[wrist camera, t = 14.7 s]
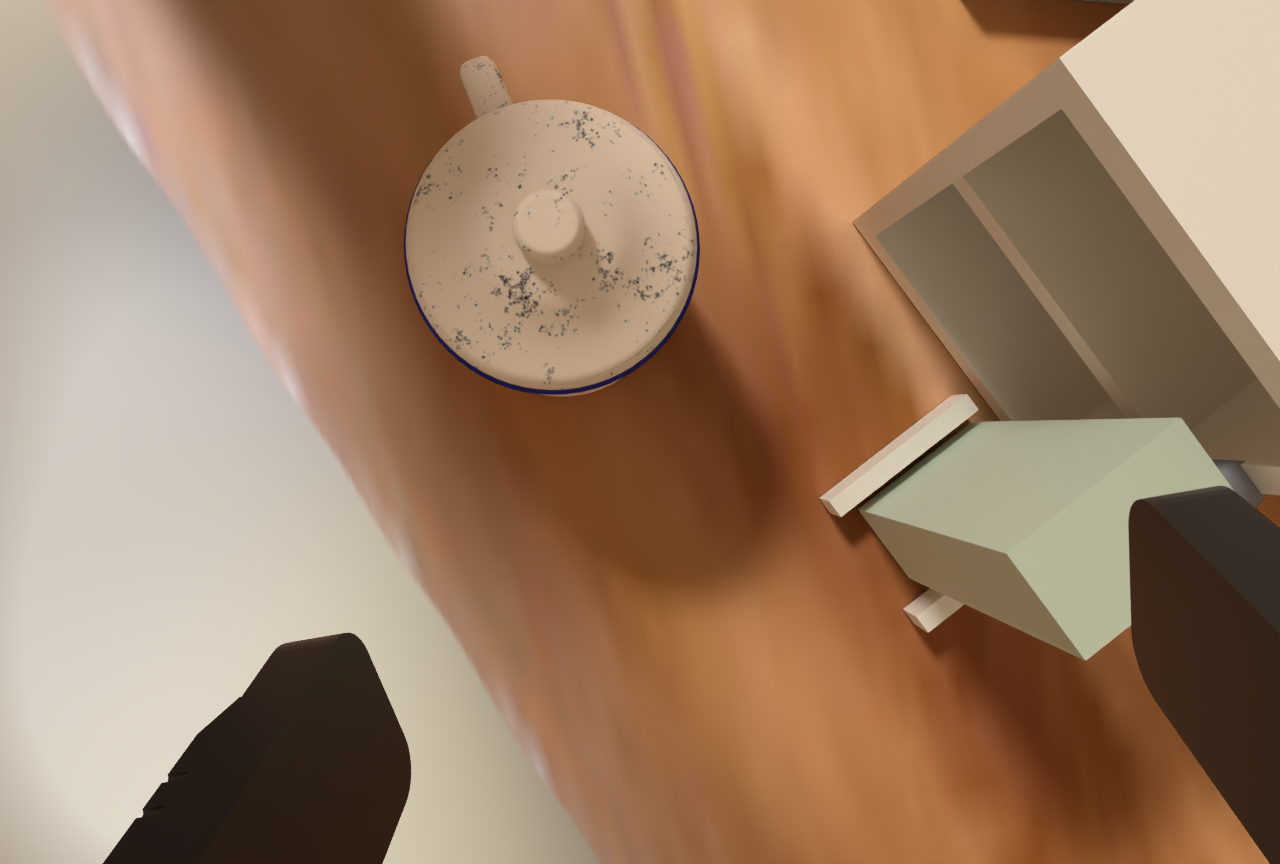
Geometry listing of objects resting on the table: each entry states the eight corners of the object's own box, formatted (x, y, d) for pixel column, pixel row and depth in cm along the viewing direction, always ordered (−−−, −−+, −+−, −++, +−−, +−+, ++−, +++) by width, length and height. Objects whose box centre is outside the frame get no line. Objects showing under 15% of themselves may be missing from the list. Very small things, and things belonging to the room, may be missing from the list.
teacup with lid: (707, 352, 36) (763, 315, 24) (500, 437, 35) (456, 440, 24) (596, 78, 36) (599, -93, 24) (385, 159, 35) (284, 26, 23)
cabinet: (698, 338, 36) (785, 266, 20) (1040, 79, 37) (1388, -194, 21) (914, 624, 36) (1167, 777, 20) (1246, 362, 37) (1742, 311, 21)
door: (857, 509, 36) (1006, 553, 23) (971, 421, 36) (1180, 417, 24) (923, 597, 36) (1107, 690, 23) (1035, 509, 37) (1279, 553, 24)
